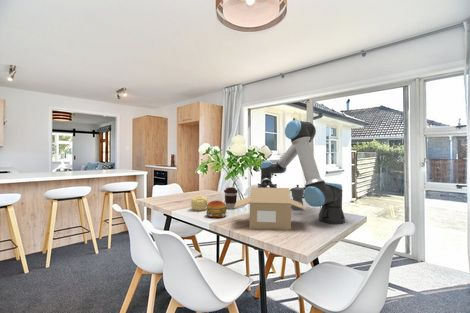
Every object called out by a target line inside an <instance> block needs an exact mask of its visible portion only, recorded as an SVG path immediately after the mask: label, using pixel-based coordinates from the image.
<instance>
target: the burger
mask: <svg viewBox="0 0 470 313" xmlns="http://www.w3.org/2000/svg"><path fill="white" fill-rule="evenodd" d="M205 211H206V215H207V217H208V218H215V219H216V218H223V217H225V216H226V214H227V213H228V211H227V207H226V203H225V202H224V201H222V200H212V201H209V202H207V207H206V209H205Z"/></svg>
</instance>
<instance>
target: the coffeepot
mask: <svg viewBox="0 0 470 313" xmlns="http://www.w3.org/2000/svg"><path fill="white" fill-rule="evenodd" d="M299 186H300V185H299V184H296V187H292V188H289V191H291V198H292V200H295V201H297V202H300V203H301V204H302V205H303V206H304V201H303V199H304V196H303V193H304V190H305V186H304V187H299ZM291 210H293V211H303V210H304V209H301V208H299V207H296V206H294V205H291Z"/></svg>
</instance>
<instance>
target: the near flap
mask: <svg viewBox="0 0 470 313" xmlns="http://www.w3.org/2000/svg"><path fill="white" fill-rule="evenodd" d="M290 191H291V190H290V187H277V188H258V187H253V186H252V187H251V186H250V197H251V202H250V203H277V204H291V203H290V199H291V194H290Z"/></svg>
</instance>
